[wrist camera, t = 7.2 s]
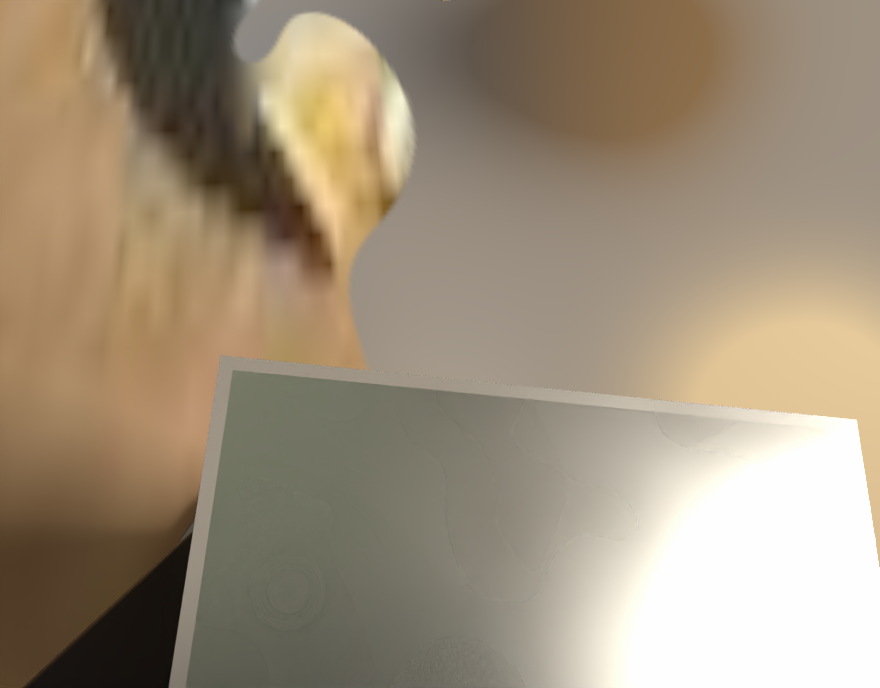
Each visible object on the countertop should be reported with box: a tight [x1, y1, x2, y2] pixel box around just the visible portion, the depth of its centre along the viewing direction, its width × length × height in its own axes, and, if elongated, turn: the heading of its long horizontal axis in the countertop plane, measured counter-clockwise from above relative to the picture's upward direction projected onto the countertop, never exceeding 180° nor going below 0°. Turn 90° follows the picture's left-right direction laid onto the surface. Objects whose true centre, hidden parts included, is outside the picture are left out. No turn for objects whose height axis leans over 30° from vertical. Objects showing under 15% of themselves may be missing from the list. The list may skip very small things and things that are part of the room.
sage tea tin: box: [169, 355, 880, 688], centre depth 11 cm, size 5×5×14 cm
